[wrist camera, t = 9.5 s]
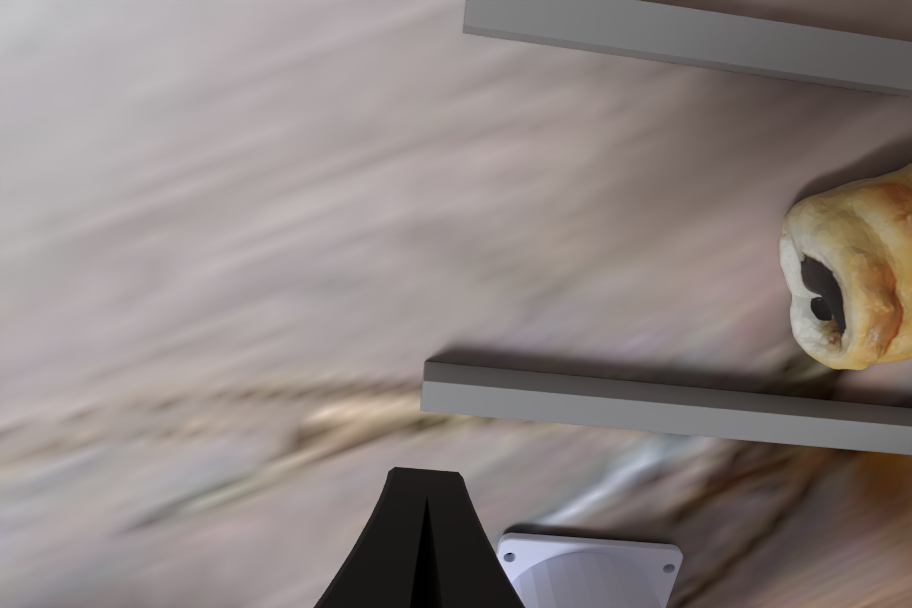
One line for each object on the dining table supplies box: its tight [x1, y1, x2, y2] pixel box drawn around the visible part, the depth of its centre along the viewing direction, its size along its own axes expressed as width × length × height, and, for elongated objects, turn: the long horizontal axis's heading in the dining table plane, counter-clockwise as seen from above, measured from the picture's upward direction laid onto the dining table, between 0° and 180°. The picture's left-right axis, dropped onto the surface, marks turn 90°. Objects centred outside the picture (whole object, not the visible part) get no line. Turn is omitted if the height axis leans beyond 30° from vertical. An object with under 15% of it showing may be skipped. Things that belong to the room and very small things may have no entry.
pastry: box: [778, 163, 912, 370], centre depth 17 cm, size 9×7×4 cm
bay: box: [420, 0, 912, 455], centre depth 17 cm, size 13×23×3 cm, turn 83°
